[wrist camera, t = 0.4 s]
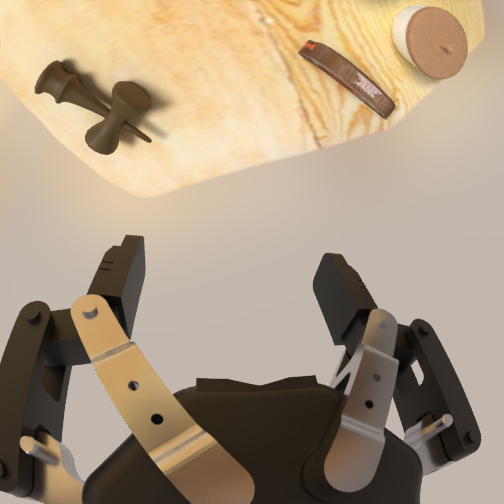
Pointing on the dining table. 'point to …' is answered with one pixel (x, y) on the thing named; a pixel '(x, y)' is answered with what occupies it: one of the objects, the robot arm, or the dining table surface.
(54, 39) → the dining table surface
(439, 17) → the lidded jar
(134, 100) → the kendama
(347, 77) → the tin
